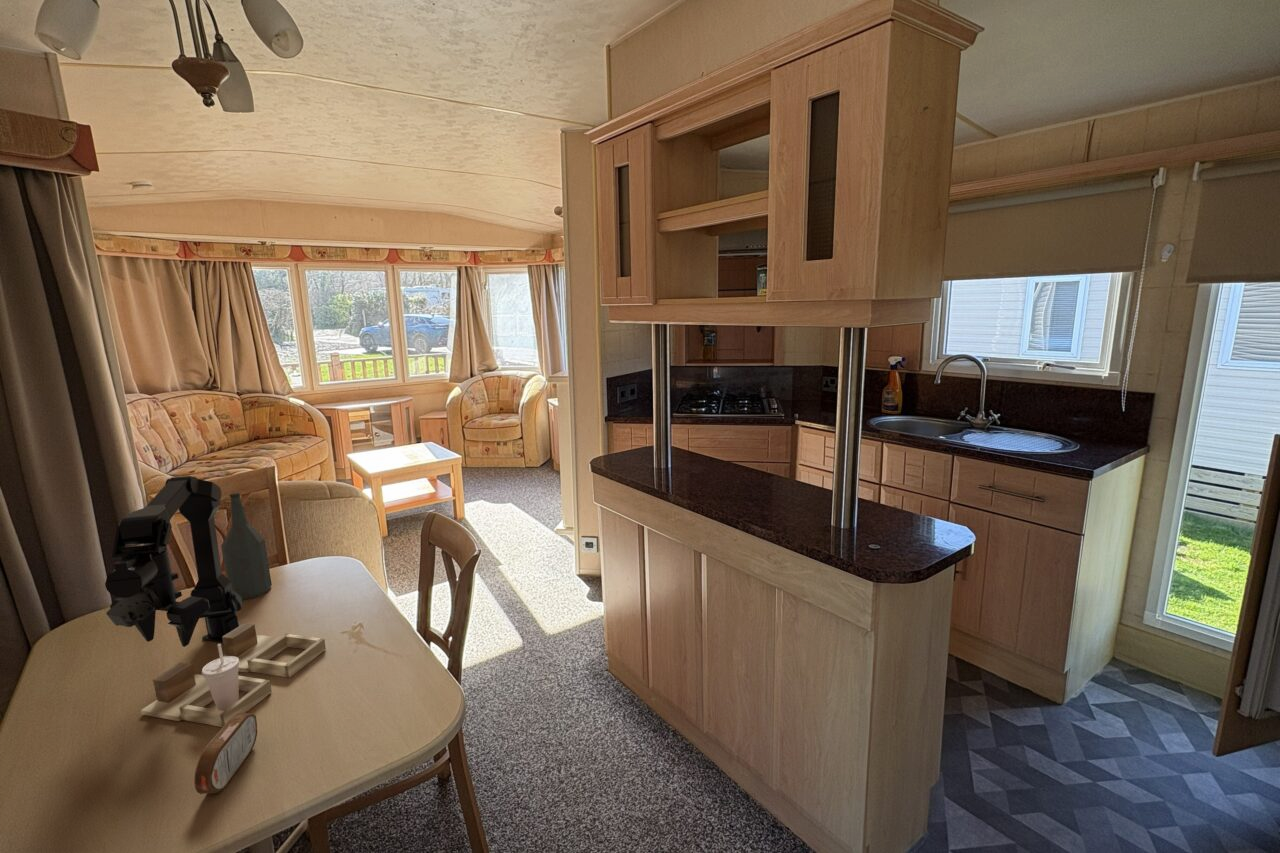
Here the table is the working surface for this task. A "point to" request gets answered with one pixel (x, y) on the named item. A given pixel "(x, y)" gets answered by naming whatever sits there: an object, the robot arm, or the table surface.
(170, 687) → the cream rimmed tray
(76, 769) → the table surface
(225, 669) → the smoothie
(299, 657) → the hollow rectangular frame
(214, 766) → the tin
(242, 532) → the bottle
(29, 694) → the table surface
